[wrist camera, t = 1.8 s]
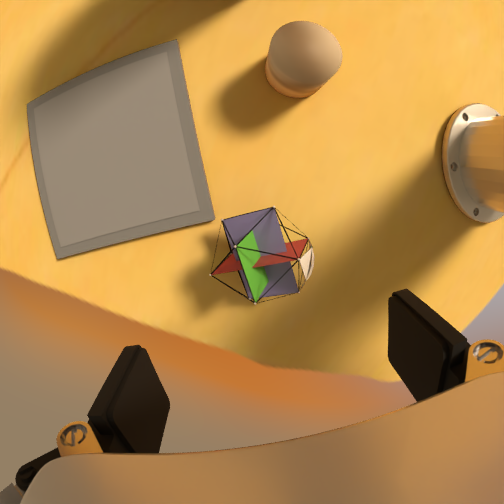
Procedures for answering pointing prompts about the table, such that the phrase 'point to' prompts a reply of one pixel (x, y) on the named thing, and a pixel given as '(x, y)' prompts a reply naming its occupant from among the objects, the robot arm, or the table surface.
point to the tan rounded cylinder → (302, 58)
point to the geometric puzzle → (263, 255)
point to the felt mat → (119, 153)
